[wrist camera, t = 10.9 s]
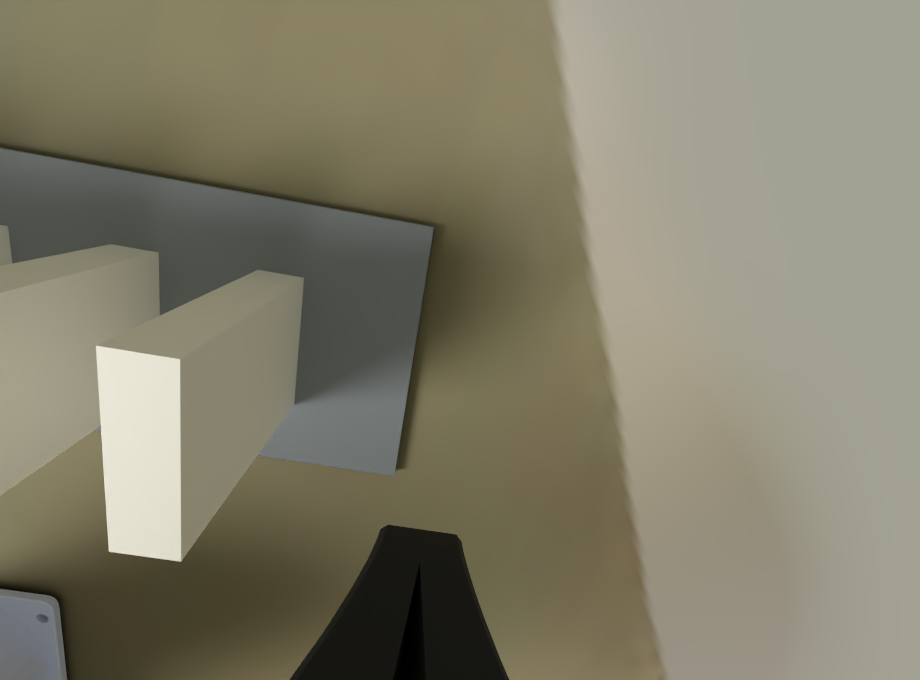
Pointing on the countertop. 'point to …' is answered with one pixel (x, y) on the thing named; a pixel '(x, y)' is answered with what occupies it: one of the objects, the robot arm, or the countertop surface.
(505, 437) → the countertop surface
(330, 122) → the countertop surface
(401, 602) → the robot arm
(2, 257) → the domino
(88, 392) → the domino
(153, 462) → the domino
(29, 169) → the domino mat
